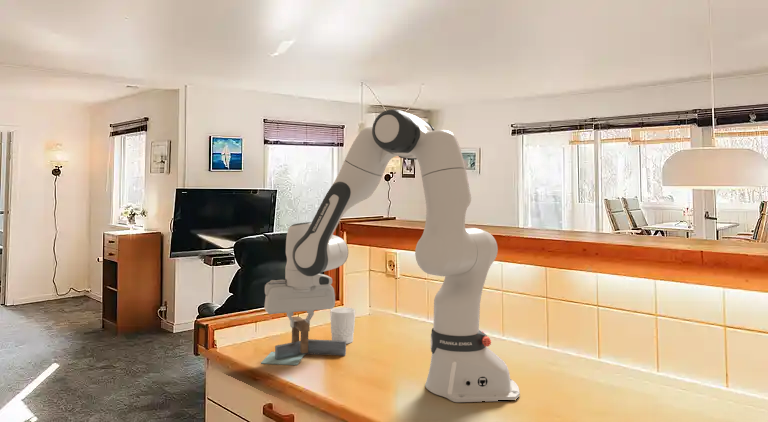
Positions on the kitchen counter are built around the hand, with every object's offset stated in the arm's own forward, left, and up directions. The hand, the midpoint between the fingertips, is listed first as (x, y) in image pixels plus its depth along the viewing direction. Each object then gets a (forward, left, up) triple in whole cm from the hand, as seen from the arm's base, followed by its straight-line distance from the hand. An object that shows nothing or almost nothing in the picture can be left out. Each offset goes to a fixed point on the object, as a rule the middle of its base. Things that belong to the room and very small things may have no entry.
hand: (300, 326), depth 151 cm
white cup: (-10, -16, -9) cm, 21 cm away
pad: (+4, +4, -8) cm, 10 cm away
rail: (-4, +2, -8) cm, 9 cm away
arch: (0, 0, -6) cm, 6 cm away
